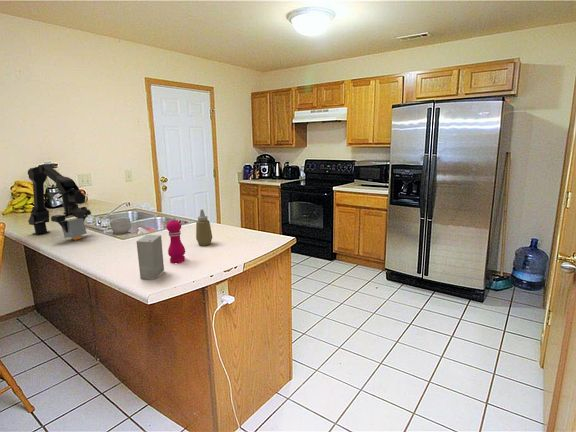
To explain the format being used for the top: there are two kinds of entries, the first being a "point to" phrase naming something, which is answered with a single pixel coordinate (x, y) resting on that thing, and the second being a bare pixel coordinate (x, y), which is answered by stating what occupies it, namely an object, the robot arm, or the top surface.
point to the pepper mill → (175, 242)
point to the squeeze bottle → (203, 230)
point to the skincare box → (150, 256)
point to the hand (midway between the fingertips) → (74, 230)
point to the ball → (77, 237)
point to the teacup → (120, 225)
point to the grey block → (75, 228)
